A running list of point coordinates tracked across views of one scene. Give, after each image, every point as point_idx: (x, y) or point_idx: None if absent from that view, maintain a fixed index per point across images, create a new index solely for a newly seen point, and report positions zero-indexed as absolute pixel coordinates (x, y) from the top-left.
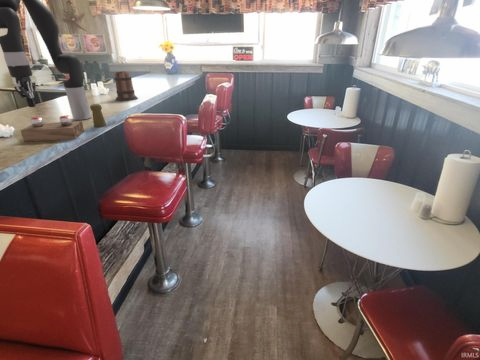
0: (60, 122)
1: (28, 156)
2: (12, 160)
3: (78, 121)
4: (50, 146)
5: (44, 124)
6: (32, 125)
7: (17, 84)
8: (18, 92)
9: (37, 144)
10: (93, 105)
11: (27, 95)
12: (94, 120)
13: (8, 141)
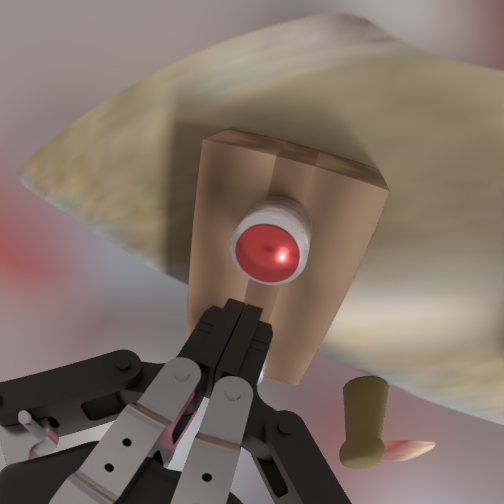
0: (324, 324)
1: (60, 199)
2: (42, 167)
3: (298, 377)
4: (130, 246)
5: (316, 254)
6: (254, 204)
7: (3, 451)
8: (41, 376)
9: (162, 198)
10: (347, 461)
11: (114, 397)
12: (354, 402)
13: (269, 44)
